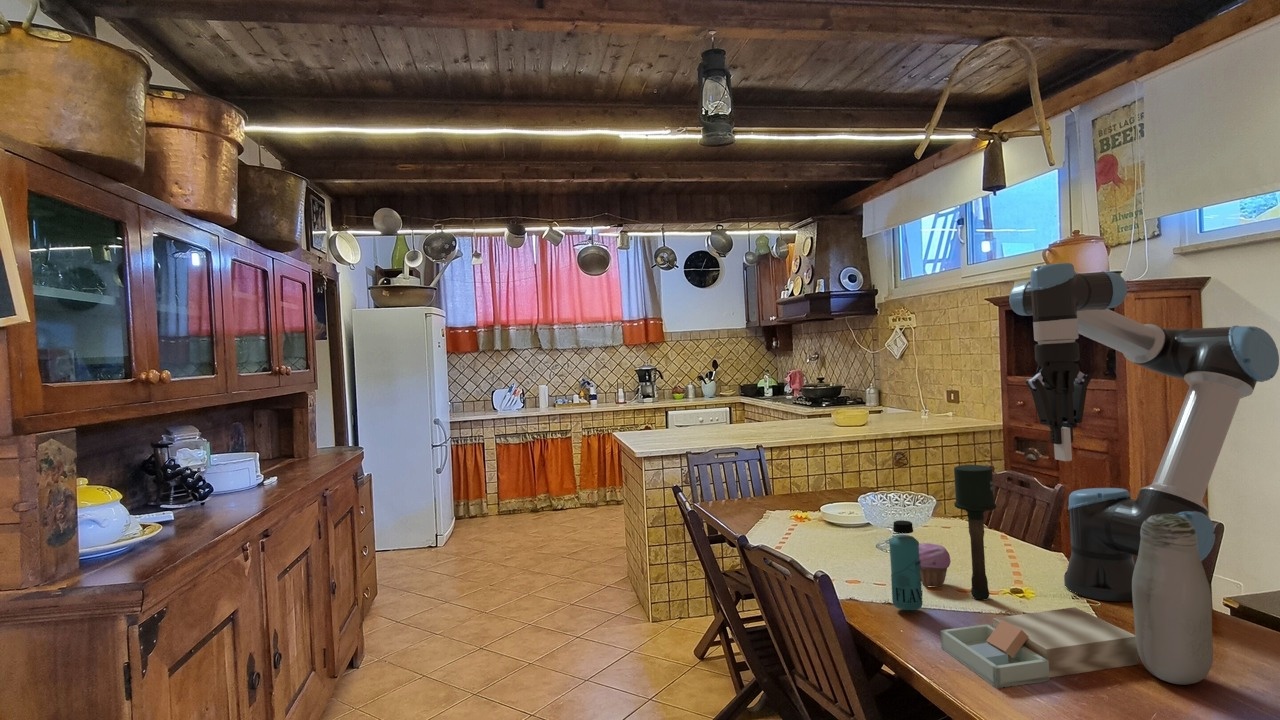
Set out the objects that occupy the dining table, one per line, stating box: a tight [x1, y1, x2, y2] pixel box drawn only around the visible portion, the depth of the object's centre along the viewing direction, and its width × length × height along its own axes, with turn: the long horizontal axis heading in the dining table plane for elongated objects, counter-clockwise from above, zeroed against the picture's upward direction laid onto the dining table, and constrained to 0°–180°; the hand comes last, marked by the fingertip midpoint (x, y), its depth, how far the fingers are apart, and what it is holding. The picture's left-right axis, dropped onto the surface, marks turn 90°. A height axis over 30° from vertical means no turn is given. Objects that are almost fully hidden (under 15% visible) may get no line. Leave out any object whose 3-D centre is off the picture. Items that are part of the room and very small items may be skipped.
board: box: [992, 606, 1140, 678], centre depth 124 cm, size 18×14×5 cm
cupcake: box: [919, 542, 952, 587], centre depth 162 cm, size 9×9×10 cm
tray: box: [940, 623, 1051, 689], centre depth 122 cm, size 10×16×4 cm, turn 8°
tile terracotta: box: [986, 620, 1029, 659], centre depth 122 cm, size 5×5×2 cm
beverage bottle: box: [888, 520, 924, 611], centre depth 147 cm, size 6×7×20 cm
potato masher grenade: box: [953, 464, 997, 600], centre depth 152 cm, size 8×9×30 cm
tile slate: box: [969, 642, 1008, 666], centre depth 121 cm, size 5×5×2 cm
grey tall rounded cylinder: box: [1132, 514, 1214, 686], centre depth 112 cm, size 10×10×28 cm
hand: (1063, 459), depth 133 cm, fingers closed
